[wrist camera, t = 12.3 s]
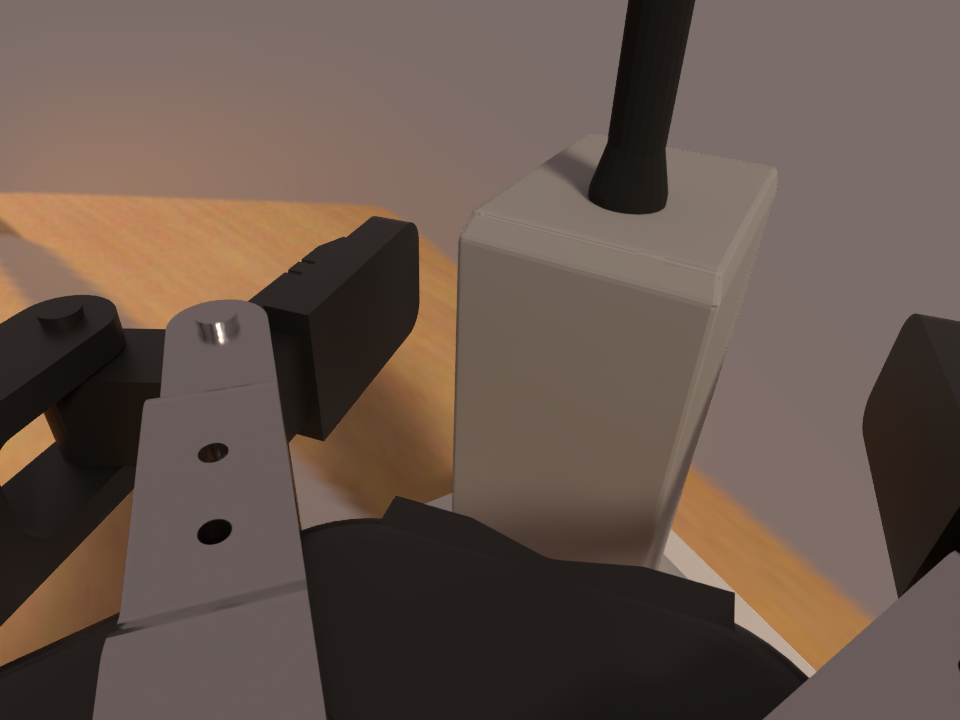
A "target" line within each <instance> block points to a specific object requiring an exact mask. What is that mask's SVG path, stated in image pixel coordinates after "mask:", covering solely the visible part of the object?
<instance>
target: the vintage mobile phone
mask: <svg viewBox="0 0 960 720" xmlns="http://www.w3.org/2000/svg"><path fill="white" fill-rule="evenodd" d="M694 4H695V0H628V7H627V14H626V20H625V27H624V34H623V40H622V47H621V54H620V60H619V67H618V74H617V80H616V87H615V94H614V101H613V107H612V114H611V121H610V127H609V134H608V136H606V135H600V134H595V133H588V134H587V135H585V136H584V137H582V138H581V139H579V140H578V141H576V142H575V143H573V144H572V145H570V146H569V147H567V148H566V149H564V150H563V151H561V152H560V153H558V154H557V155H555V156H554V157H552V158H551V159H549V160H548V161H546V162H545V163H543V164H542V165H540V166H539V167H537V168H536V169H534V170H533V171H531V172H530V173H529V174H527V175H526V176H524V177H523V178H521V179H520V180H518V181H517V182H515V183H514V184H512V185H511V186H509V187H508V188H506V189H505V190H503V191H502V192H500V193H499V194H497V195H496V196H494V197H493V198H491V199H490V200H488V201H487V202H485V203H484V204H482V205H481V206H480V207H478V208H476V209H475V210H474V211H473V213H472V214H471V216H470V218H469V220H468V222H467V223H466V225H465V226H464V228H463V230H462V232H461V234H460V236H459V241H458V282H457V322H456V363H455V404H454V444H453V485H452V512H454V513H458V514H461V515H465V516H468V517H472V518H474V519H475V520H477V521H479V522H481V523H483V524H485V525H487V526H488V527H490V528H492V529H494V530H496V531H498V532H500V533H501V534H503V535H505V536H507V537H509V538H511V539H513V540H514V541H516V542H518V543H520V544H522V545H524V546H526V547H527V548H529V549H531V550H533V551H535V552H537V553H539V554H540V555H543V556H545V557H547V558H551V559H555V560H565V561H578V562H591V563H604V564H617V565H630V566H643V567H647V568H650V569H654V570H657V571H658V569H659V566H660V563H661V559H662V556H663V553H664V549H665V546H666V543H667V540H668V536H669V533H670V530H671V526H672V523H673V520H674V517H675V513H676V510H677V507H678V503H679V500H680V497H681V494H682V490H683V487H684V484H685V480H686V477H687V474H688V470H689V467H690V464H691V461H692V457H693V454H694V451H695V448H696V445H697V442H698V439H699V436H700V433H701V430H702V427H703V424H704V421H705V418H706V415H707V412H708V409H709V406H710V403H711V400H712V397H713V393H714V390H715V387H716V384H717V381H718V377H719V374H720V371H721V368H722V364H723V361H724V358H725V355H726V352H727V349H728V345H729V342H730V339H731V336H732V332H733V329H734V326H735V323H736V319H737V316H738V313H739V310H740V307H741V304H742V300H743V297H744V294H745V290H746V288H747V284H748V281H749V278H750V275H751V272H752V268H753V265H754V261H755V259H756V256H757V252H758V249H759V246H760V243H761V239H762V236H763V233H764V230H765V226H766V223H767V220H768V217H769V214H770V210H771V207H772V204H773V201H774V197H775V195H776V191H777V169H776V168H774V167H771V166H766V165H761V164H755V163H750V162H745V161H739V160H734V159H729V158H723V157H718V156H712V155H707V154H702V153H696V152H691V151H685V150H680V149H675V148H670V147H666V144H667V139H668V134H669V129H670V123H671V119H672V114H673V108H674V104H675V99H676V94H677V88H678V84H679V79H680V74H681V69H682V64H683V59H684V54H685V49H686V44H687V39H688V34H689V29H690V24H691V19H692V14H693V9H694Z"/></svg>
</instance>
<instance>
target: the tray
mask: <svg viewBox="0 0 960 720" xmlns="http://www.w3.org/2000/svg"><path fill="white" fill-rule="evenodd" d="M425 504H426V505H430V506H433V507H437V508H440V509H444V510H447V511H451V512H452V493H450V494H448V495H445V496H443V497H440V498H438V499H435V500H433V501H430V502H427V503H425ZM658 571H661V572H664V573H668V574H671V575H675V576H678V577H682V578H685V579H689V580H692V581H696V582H699V583H703V584H706V585H710V586H713V587H717V588H720V589H724V590H727V591H731V592H734V593H735V618H734V623H736V624H738V625H740V626H742V627H744V628H745V629H747V630H749V631H750V632H752V633H753V634H755V635H757V636H758V637H760V638H761V639H763V640H764V641H766V642H767V643H769V644H770V645H772V646H773V647H774V648H775V649H777V650H778V651H779V652H780V653H782V654H783V655H784V656H786V657H787V658H788V659H789V660H791V661H792V662H793V663H794V664H795V665H796V666H797V667H798V668H799V669H800V670H801V671H802V672H804V673H805V674H806V675H807V676H808V677H809V678H810V677H811V676H812V675H814V674H815V673H816V672H817V671H816V670H815V669H814V668H813V667H811V666H810V665H809V664H808V663H807V662H806V661H805V660H804V659H803V658H802V657H801V656H800V655H799V654H798V653H797V652H796V651H795V650H794V649H793V648H792V647H791V646H790V645H789V644H788V643H787V642H786V641H785V640H784V639H783V638H782V637H781V636H780V635H779V634H778V633H777V632H776V631H775V630H774V629H773V628H772V627H771V626H770V625H769V624H768V623H767V622H766V621H764V620H763V619H762V618H761V617H760V616H759V615H758V614H757V613H756V612H755V611H754V610H753V609H752V608H751V607H750V606H749V605H748V604H747V603H746V602H745V601H744V600H743V599H742V598H741V597H740V596H739V595H738V594H737V593H736V592H735V591H734V590H733V589H732V588H731V587H730V586H729V585H728V584H727V583H726V582H725V581H724V580H723V579H722V578H721V577H720V576H718V575H717V574H716V573H715V572H714V571H713V570H712V569H711V568H710V567H709V566H708V565H707V564H706V563H705V562H704V561H703V560H702V559H701V558H700V557H699V556H698V555H697V554H696V553H695V552H694V551H693V550H692V549H691V548H690V547H689V546H688V545H687V544H686V543H685V542H684V541H683V540H682V539H681V538H680V537H679V536H678V535H677V534H676V533H675V532H674V531H673V530H670V533H669V536H668V540H667V543H666V546H665V549H664V553H663V556H662V559H661V563H660V566H659V569H658Z"/></svg>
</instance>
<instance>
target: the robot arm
mask: <svg viewBox="0 0 960 720" xmlns="http://www.w3.org/2000/svg"><path fill="white" fill-rule="evenodd" d="M418 310H419V236H418V230H417V227H416V225H415V224H414V223H411V222H405V221H400V220H394V219H388V218H383V217H377V216H373V217H371V218H370V219H368V220H367V221H366V222H365V223H364V224H362V225H361V226H360V227H359V228H357V229H356V230H355V231H354V232H352V233H351V234H350V235H349V236H348V237H342V238H339V239H336V240H334V241H331V242H328V243H326V244H323V245H321V246H318V247H317V248H316V249H314V250H313V251H312V252H310V253H309V254H308V255H307V256H305V257H304V258H303V259H302V262H298V263H296V264H295V265H294V266H293V267H291V268H290V269H289V270H288V273H284V274H282V275H281V276H280V277H278V278H277V279H276V280H275V281H273V282H272V283H271V284H270V285H268V286H267V287H266V288H264V289H263V290H262V291H261V292H259V293H258V294H257V295H255V296H254V297H253V298H252V299H250V300H249V301H248V302H247V301H242V300H216V301H209V302H205V303H201V304H198V305H195V306H192V307H190V308H187V309H185V310H183V311H182V312H180V313H178V314H177V315H176V316H174V317H173V318H172V319H171V320H170V321H169V323H168V325H167V327H166V329H122V326H121V322H120V319H119V316H118V313H117V310H116V307H115V305H114V304H113V303H112V302H111V301H110V300H108V299H105V298H102V297H98V296H91V295H73V296H65V297H59V298H54V299H50V300H47V301H44V302H41V303H38V304H35V305H33V306H31V307H28V308H27V309H25V310H23V311H21V312H19V313H18V314H16V315H14V316H13V317H11V318H9V319H8V320H6V321H4V322H3V323H1V324H0V450H1V448H2V447H3V445H4V444H5V443H6V442H7V441H8V440H9V439H10V438H11V437H13V436H14V435H15V434H16V433H18V432H19V431H20V430H22V429H23V428H24V427H25V426H27V425H28V424H29V423H31V422H32V421H33V420H34V419H36V418H37V417H38V416H40V415H41V414H42V413H44V415H45V417H46V420H47V422H48V424H49V426H50V429H51V431H52V433H53V436H54V438H55V440H56V442H54V443H53V444H52V445H51V446H50V447H48V448H47V449H46V450H45V451H44V452H42V453H41V454H40V455H39V456H38V457H36V458H35V459H34V460H33V461H32V462H30V463H29V464H28V465H27V466H26V467H24V468H23V469H22V470H21V471H20V472H19V473H17V474H16V475H15V476H14V477H13V478H11V479H10V480H9V481H8V482H7V483H5V484H4V485H3V486H2V487H1V486H0V626H1V625H2V624H3V623H4V622H5V621H6V620H7V619H8V618H9V617H10V616H11V615H12V614H13V613H14V612H15V611H16V610H17V609H18V608H19V607H20V606H21V605H22V604H23V603H24V602H25V601H26V599H27V598H28V597H29V596H30V595H31V594H32V593H33V592H34V591H35V590H36V589H37V588H38V587H39V586H40V585H41V584H42V583H43V582H44V581H45V580H46V579H47V578H48V577H49V576H50V575H51V574H52V573H53V572H54V571H55V570H56V568H57V567H58V566H59V565H60V564H61V563H62V562H63V561H64V560H65V559H66V558H67V557H68V556H69V555H70V554H71V553H72V552H73V551H74V550H75V549H76V548H77V547H78V546H79V545H80V544H81V543H82V542H83V541H84V540H85V538H86V537H87V536H88V535H89V534H90V533H91V532H92V531H93V530H94V529H95V528H96V527H97V526H98V525H99V524H100V523H101V522H102V521H103V520H104V519H105V518H106V517H107V516H108V515H109V514H110V513H111V512H112V511H113V510H114V508H115V507H116V506H117V505H118V504H119V503H120V502H121V501H122V500H123V499H124V498H125V497H126V496H127V495H128V494H129V493H130V492H131V491H132V490H133V489H134V493H133V502H132V511H131V520H130V529H129V538H128V546H127V555H126V564H125V573H124V582H123V591H122V600H121V608H120V612H119V613H117V614H115V615H113V616H111V617H108V618H106V619H104V620H102V621H100V622H97V623H95V624H93V625H91V626H89V627H86V628H84V629H82V630H80V631H78V632H75V633H73V634H71V635H69V636H67V637H64V638H62V639H60V640H58V641H56V642H53V643H51V644H49V645H47V646H45V647H43V648H40V649H38V650H36V651H34V652H32V653H29V654H27V655H25V656H23V657H21V658H18V659H16V660H14V661H12V662H10V663H7V664H5V665H3V666H1V667H0V720H960V321H954V320H949V319H943V318H937V317H932V316H926V315H921V314H913V315H911V316H910V317H909V318H908V319H907V320H906V322H905V323H904V325H903V327H902V328H901V330H900V333H899V335H898V337H897V339H896V341H895V343H894V345H893V347H892V350H891V351H890V354H889V356H888V358H887V360H886V362H885V364H884V366H883V368H882V371H881V373H880V375H879V377H878V379H877V381H876V383H875V385H874V387H873V390H872V392H871V394H870V396H869V398H868V401H867V404H866V407H865V412H864V417H863V428H862V429H863V437H864V442H865V447H866V452H867V456H868V461H869V465H870V470H871V474H872V479H873V484H874V489H875V493H876V498H877V502H878V507H879V511H880V516H881V521H882V525H883V530H884V535H885V539H886V544H887V549H888V553H889V557H890V563H891V567H892V572H893V576H894V581H895V586H896V590H897V595H898V600H897V601H896V602H895V603H893V604H892V605H891V606H890V607H889V608H888V609H887V610H885V611H884V612H883V613H882V614H881V615H880V616H879V617H878V618H876V619H875V620H874V621H873V622H872V623H871V624H870V625H869V626H867V627H866V628H865V629H864V630H863V631H862V632H861V633H860V634H858V635H857V636H856V637H855V638H854V639H853V640H852V641H851V642H849V643H848V644H847V645H846V646H845V647H844V648H843V649H842V650H840V651H839V652H838V653H837V654H836V655H835V656H834V657H833V658H831V659H830V660H829V661H828V662H827V663H826V664H825V665H824V666H823V667H821V668H820V669H819V670H818V671H817V672H816V673H815V674H814V675H812V676H811V677H810V678H809V677H808V676H807V675H806V674H805V673H804V672H802V671H801V670H800V669H799V668H798V667H797V666H796V665H795V664H794V663H793V662H792V661H791V660H789V659H788V658H787V657H786V656H784V655H783V654H782V653H780V652H779V651H778V650H777V649H775V648H774V647H773V646H772V645H770V644H769V643H767V642H766V641H764V640H763V639H761V638H760V637H758V636H757V635H755V634H753V633H752V632H750V631H749V630H747V629H745V628H744V627H742V626H740V625H738V624H736V623H734V618H735V593H734V592H731V591H727V590H724V589H720V588H717V587H713V586H710V585H706V584H703V583H699V582H696V581H692V580H689V579H685V578H682V577H678V576H675V575H671V574H668V573H664V572H661V571H657V570H654V569H650V568H647V567H643V566H630V565H617V564H604V563H591V562H578V561H565V560H555V559H551V558H547V557H545V556H543V555H540V554H539V553H537V552H535V551H533V550H531V549H529V548H527V547H526V546H524V545H522V544H520V543H518V542H516V541H514V540H513V539H511V538H509V537H507V536H505V535H503V534H501V533H500V532H498V531H496V530H494V529H492V528H490V527H488V526H487V525H485V524H483V523H481V522H479V521H477V520H475V519H474V518H472V517H468V516H465V515H461V514H458V513H454V512H451V511H447V510H444V509H440V508H437V507H433V506H430V505H426V504H423V503H419V502H416V501H412V500H409V499H405V498H402V497H398V496H395V498H394V499H393V501H392V503H391V504H390V506H389V508H388V509H387V511H386V513H385V514H384V516H383V518H382V519H378V518H363V519H349V520H341V521H334V522H330V523H325V524H321V525H317V526H314V527H311V528H307V529H304V530H302V527H301V521H300V514H299V508H298V501H297V495H296V488H295V482H294V475H293V469H292V462H291V456H290V450H289V442H290V441H291V440H292V439H293V437H294V436H295V435H296V434H299V435H303V436H306V437H310V438H314V439H317V440H321V441H324V440H325V439H326V438H327V437H328V435H329V434H330V433H331V432H332V430H333V429H334V428H335V427H336V425H337V424H338V423H339V422H340V420H341V419H342V418H343V417H344V415H345V414H346V413H347V412H348V410H349V409H350V408H351V407H352V405H353V404H354V403H355V402H356V400H357V399H358V398H359V397H360V395H361V394H362V393H363V392H364V390H365V389H366V388H367V387H368V385H369V384H370V383H371V382H372V380H373V379H374V378H375V377H376V375H377V374H378V373H379V372H380V370H381V369H382V368H383V367H384V365H385V364H386V363H387V362H388V360H389V359H390V358H391V357H392V355H393V354H394V353H395V352H396V350H397V349H398V348H399V347H400V345H401V344H402V343H403V342H404V340H405V339H406V338H407V337H408V335H409V334H410V333H411V331H412V329H413V327H414V325H415V322H416V319H417V315H418Z"/></svg>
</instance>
